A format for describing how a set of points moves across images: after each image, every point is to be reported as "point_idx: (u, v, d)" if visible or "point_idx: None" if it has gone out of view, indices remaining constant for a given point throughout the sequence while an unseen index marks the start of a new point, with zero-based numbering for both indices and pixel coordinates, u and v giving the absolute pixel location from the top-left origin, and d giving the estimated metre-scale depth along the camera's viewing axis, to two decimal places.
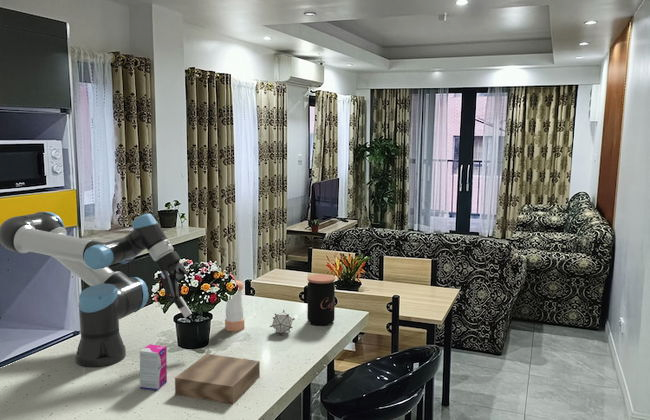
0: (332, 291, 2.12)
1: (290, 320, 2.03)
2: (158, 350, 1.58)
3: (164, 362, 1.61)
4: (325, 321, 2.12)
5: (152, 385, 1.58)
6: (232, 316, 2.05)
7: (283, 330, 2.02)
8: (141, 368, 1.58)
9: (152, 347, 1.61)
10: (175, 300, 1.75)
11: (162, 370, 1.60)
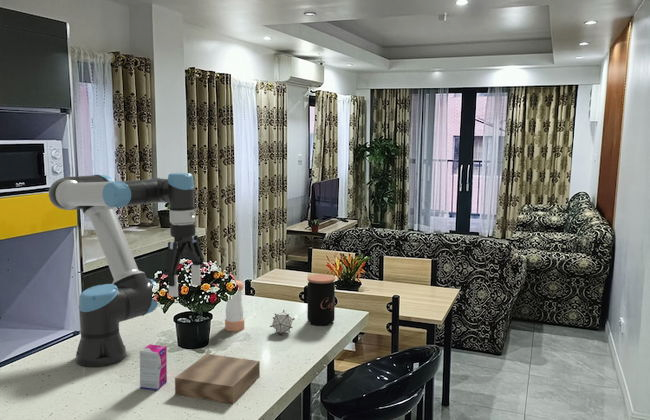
0: (332, 291, 2.12)
1: (290, 320, 2.03)
2: (158, 350, 1.58)
3: (164, 362, 1.61)
4: (325, 321, 2.12)
5: (152, 385, 1.58)
6: (232, 316, 2.05)
7: (283, 330, 2.02)
8: (141, 368, 1.58)
9: (152, 347, 1.61)
10: (170, 277, 1.63)
11: (162, 370, 1.60)
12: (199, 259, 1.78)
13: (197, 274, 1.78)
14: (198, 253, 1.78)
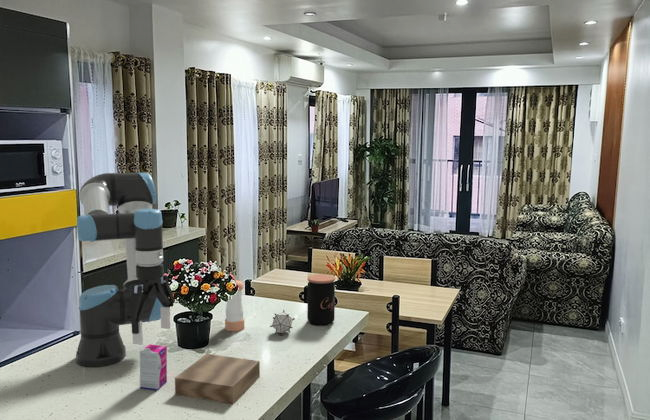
0: (332, 291, 2.12)
1: (290, 320, 2.03)
2: (158, 350, 1.58)
3: (164, 362, 1.61)
4: (325, 321, 2.12)
5: (152, 385, 1.58)
6: (232, 316, 2.05)
7: (283, 330, 2.02)
8: (141, 368, 1.58)
9: (152, 347, 1.61)
10: (133, 323, 1.50)
11: (162, 370, 1.60)
12: (169, 301, 1.64)
13: (166, 317, 1.64)
14: (168, 294, 1.64)
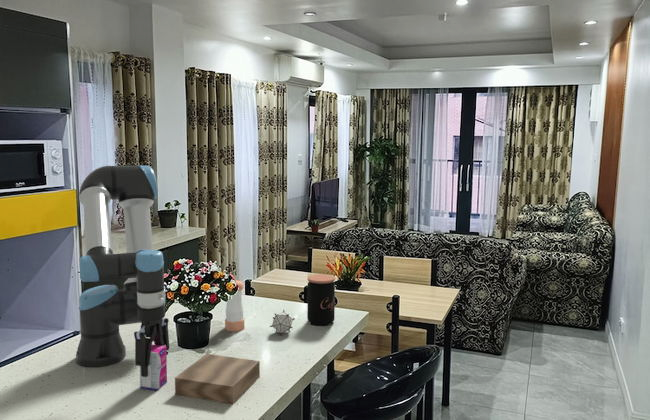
0: (332, 291, 2.12)
1: (290, 320, 2.03)
2: (158, 350, 1.58)
3: (164, 362, 1.61)
4: (325, 321, 2.12)
5: (152, 385, 1.58)
6: (232, 316, 2.05)
7: (283, 330, 2.02)
8: None
9: (152, 347, 1.60)
10: (143, 367, 1.55)
11: (162, 370, 1.60)
12: None
13: None
14: (165, 339, 1.64)
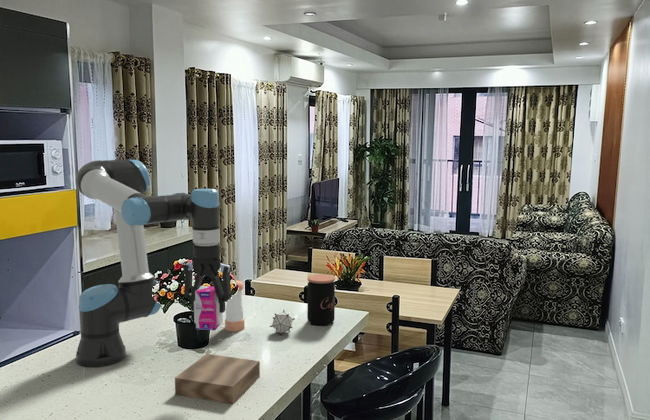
0: (332, 291, 2.12)
1: (290, 320, 2.03)
2: (201, 291, 1.55)
3: (209, 307, 1.55)
4: (325, 321, 2.12)
5: None
6: (232, 316, 2.05)
7: (283, 330, 2.02)
8: None
9: (211, 288, 1.58)
10: None
11: (204, 313, 1.55)
12: (220, 296, 1.55)
13: None
14: None
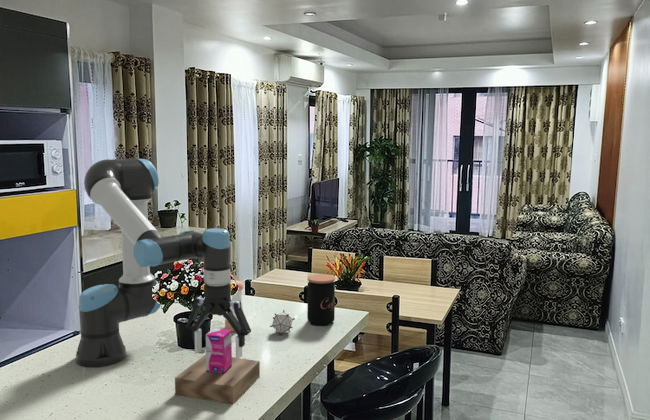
0: (332, 291, 2.12)
1: (290, 320, 2.03)
2: (212, 334, 1.57)
3: (218, 350, 1.57)
4: (325, 321, 2.12)
5: None
6: None
7: (283, 330, 2.02)
8: None
9: (222, 331, 1.60)
10: None
11: (214, 357, 1.57)
12: (238, 330, 1.56)
13: None
14: None
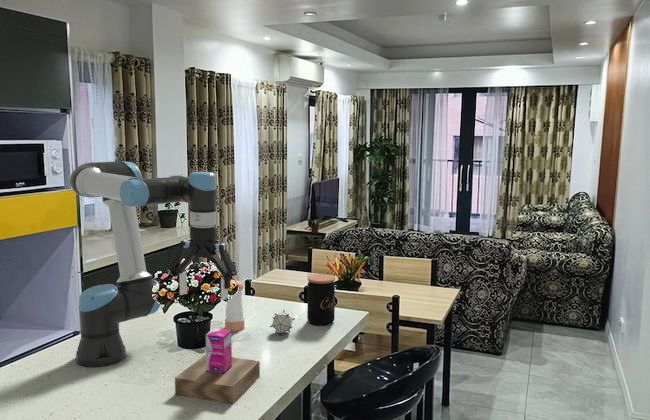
0: (332, 291, 2.12)
1: (290, 320, 2.03)
2: (212, 334, 1.57)
3: (218, 350, 1.57)
4: (325, 321, 2.12)
5: None
6: (232, 316, 2.05)
7: (283, 330, 2.02)
8: None
9: (222, 331, 1.60)
10: None
11: (214, 357, 1.57)
12: (224, 272, 1.58)
13: None
14: None
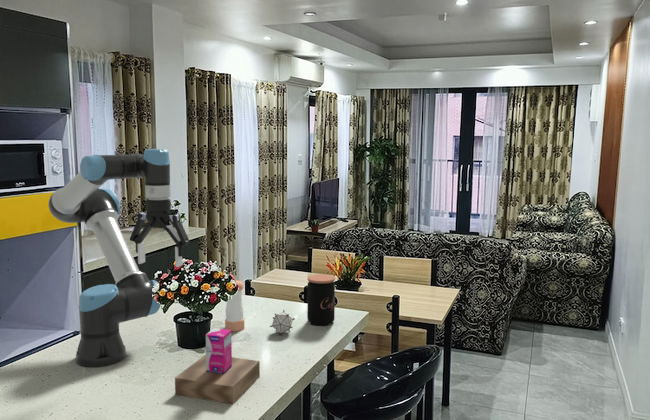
0: (332, 291, 2.12)
1: (290, 320, 2.03)
2: (212, 334, 1.57)
3: (218, 350, 1.57)
4: (325, 321, 2.12)
5: None
6: (232, 316, 2.05)
7: (283, 330, 2.02)
8: None
9: (222, 331, 1.60)
10: None
11: (214, 357, 1.57)
12: (177, 241, 1.71)
13: None
14: None
